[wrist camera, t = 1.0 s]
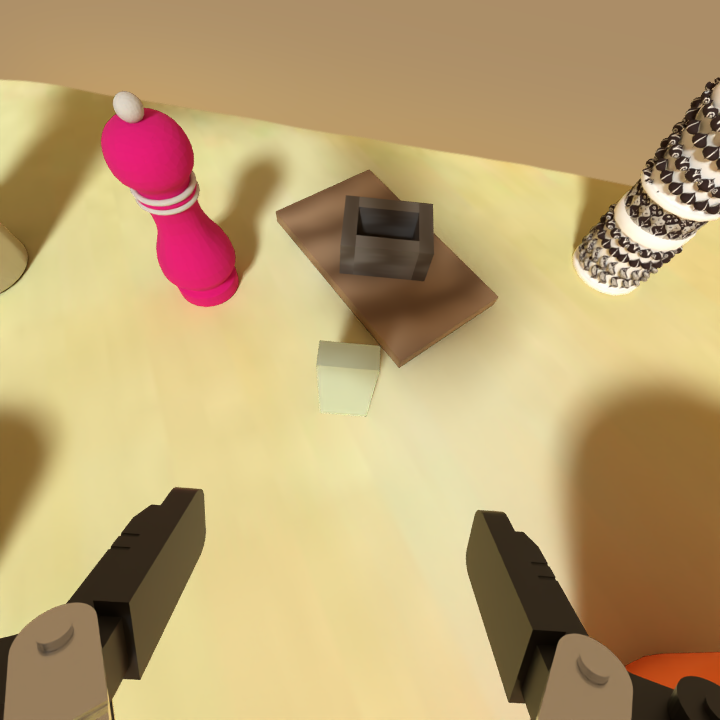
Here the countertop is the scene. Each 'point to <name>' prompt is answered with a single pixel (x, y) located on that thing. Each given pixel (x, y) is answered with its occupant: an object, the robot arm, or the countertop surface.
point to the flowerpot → (677, 667)
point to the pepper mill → (170, 199)
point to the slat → (346, 377)
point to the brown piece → (386, 264)
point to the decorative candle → (658, 205)
